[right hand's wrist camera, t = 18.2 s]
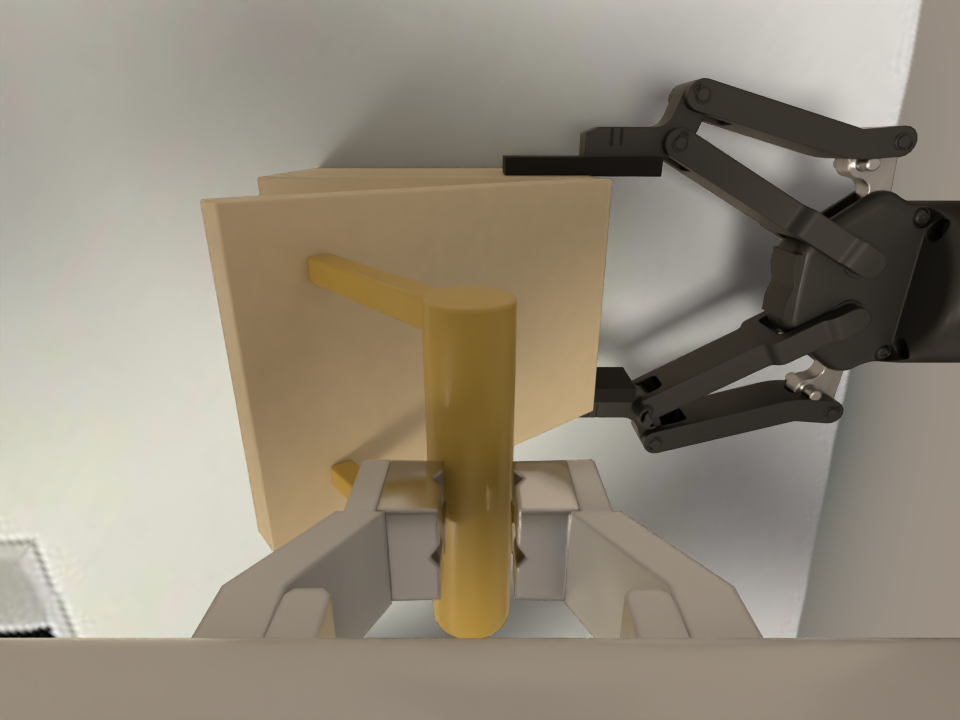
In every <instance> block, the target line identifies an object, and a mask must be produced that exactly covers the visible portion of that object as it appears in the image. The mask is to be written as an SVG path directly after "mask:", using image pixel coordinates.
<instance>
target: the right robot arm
mask: <svg viewBox="0 0 960 720" xmlns="http://www.w3.org/2000/svg"><path fill="white" fill-rule="evenodd" d="M445 486H446V474H445V461H421V460H392V461H391V460H364V461H363V462H362V463H361V465H360V468H359V471H358V473H357V476H356V479H355V481H354V484H353V487H352V489H351V492H350V495H349V497H348V500H347V503H346V505H345V508H344V511H335V512H334V513H332V514H331V515H329V516H327V517H326V518H324V519H323V520H321V521H320V522H318V523H317V524H315V525H314V526H312V527H311V528H309V529H308V530H306V531H305V532H303V533H302V534H300V535H299V536H297V537H296V538H294V539H292V540H291V541H289V542H288V543H286V544H285V545H283V546H282V547H280V548H279V549H277V550H276V551H274V552H273V553H271V554H270V555H268V556H267V557H265V558H264V559H262V560H261V561H259V562H257V563H256V564H254V565H253V566H251V567H250V568H248V569H247V570H245V571H244V572H242V573H241V574H239V575H238V576H236V577H235V578H233V579H232V580H230V581H229V582H227V583H226V584H224V585H222V587H221V588H220V590H219V592H218V594H217V595H216V597H215V599H214V600H213V602H212V604H211V605H210V607H209V609H208V610H207V612H206V614H205V616H204V617H203V619H202V621H201V622H200V624H199V626H198V627H197V629H196V631H195V633H194V634H193V636H192V638H0V720H960V638H763V637H762V635H761V633H760V631H759V630H758V628H757V626H756V624H755V623H754V621H753V619H752V617H751V616H750V614H749V612H748V610H747V609H746V607H745V605H744V603H743V602H742V600H741V598H740V596H739V595H738V593H737V591H736V589H735V588H734V586H732V585H731V584H729V583H728V582H726V581H725V580H723V579H722V578H720V577H719V576H717V575H716V574H714V573H713V572H711V571H710V570H708V569H707V568H705V567H704V566H702V565H701V564H699V563H698V562H696V561H695V560H693V559H692V558H690V557H689V556H687V555H686V554H684V553H683V552H681V551H680V550H678V549H677V548H675V547H674V546H672V545H671V544H669V543H668V542H666V541H665V540H663V539H662V538H660V537H659V536H657V535H656V534H654V533H653V532H651V531H650V530H648V529H647V528H645V527H644V526H642V525H641V524H639V523H638V522H636V521H635V520H633V519H632V518H630V517H629V516H627V515H625V514H624V513H622V512H621V511H613V510H612V508H611V505H610V502H609V500H608V497H607V494H606V491H605V489H604V486H603V483H602V481H601V478H600V475H599V472H598V470H597V467H596V464H595V462H594V461H593V460H592V459H587V460H558V461H518V462H512V467H511V489H512V501H511V502H510V535H511V552H512V554H513V577H514V588H515V599H516V600H551V601H565V604H566V605H567V606H568V608H569V609H570V610H571V611H572V612H573V613H574V615H575V616H576V617H577V618H578V619H579V620H580V622H581V623H582V624H583V625H584V626H585V627H586V629H587V630H588V631H589V632H590V633H591V635H592V636H593V637H594V638H362V637H363V636H364V635H365V634H366V633H367V632H368V630H369V629H370V628H371V627H372V626H373V625H374V623H375V622H376V621H377V620H378V619H379V618H380V616H381V615H382V614H383V613H384V612H385V611H386V610H387V608H388V607H389V606H390V605H391V604H392V603H391V601H405V600H440V599H441V594H442V583H443V572H444V565H443V555H444V554H445V548H446V528H447V507H446V501H445V500H444V497H445Z"/></svg>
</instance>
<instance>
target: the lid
mask: <svg viewBox="0 0 960 720" xmlns="http://www.w3.org/2000/svg"><path fill="white" fill-rule="evenodd" d="M611 190H612V180H611V179H601V178H574V179H556V180H538V181H520V182H502V183H484V184H466V185H448V186H430V187H412V188H394V189H376V190H358V191H340V192H322V193H304V194H286V195H268V196H250V197H232V198H214V199H202V200H201V201H200V204H201V209H202V215H203V221H204V226H205V232H206V238H207V243H208V249H209V255H210V260H211V266H212V271H213V277H214V283H215V288H216V294H217V300H218V305H219V311H220V317H221V322H222V328H223V333H224V339H225V345H226V350H227V356H228V362H229V367H230V373H231V379H232V384H233V390H234V395H235V401H236V407H237V412H238V418H239V424H240V429H241V435H242V441H243V446H244V452H245V457H246V463H247V469H248V474H249V480H250V486H251V491H252V497H253V503H254V508H255V514H256V519H257V525H258V531H259V532H260V534H261V535H262V536H263V538H264V539H265V541H266V542H267V544H268V545H269V546H270V548H271V549H272V551H276V550H277V549H279V548H280V547H282V546H283V545H285V544H286V543H288V542H289V541H291V540H292V539H294V538H296V537H297V536H299V535H300V534H302V533H303V532H305V531H306V530H308V529H309V528H311V527H312V526H314V525H315V524H317V523H318V522H320V521H321V520H323V519H324V518H326V517H327V516H329V515H331V514H332V513H334V512H335V511H344V508H345V505H346V503H347V500H348V497H349V495H350V492H351V489H352V487H353V484H354V481H355V479H356V476H357V473H358V471H359V468H360V465H361V463H362V462H363V461H364V460H391V461H392V460H421V461H445V474H446V486H445V497H444V500H445V501H446V507H447V528H446V548H445V554H444V555H443V565H444V572H443V583H442V594H441V599H440V600H433V613H434V617H435V620H436V621H437V623H438V625H439V626H440V627H441V628H442V629H443V630H444V631H445V632H447V633H448V634H450V635H452V636H454V637H457V638H485V637H488V636H490V635H492V634H493V633H495V632H497V631H498V630H499V629H500V628H501V627H502V626H503V624H504V623H505V621H506V620H507V618H508V614H509V603H510V565H511V535H510V502H511V501H512V489H511V467H512V462H513V450H514V445H516V444H519V443H521V442H523V441H525V440H528V439H530V438H532V437H535V436H537V435H539V434H541V433H544V432H546V431H548V430H550V429H553V428H555V427H557V426H559V425H562V424H564V423H566V422H568V421H571V420H573V419H575V418H577V417H580V416H582V415H584V414H587V413H589V412H591V411H593V405H594V394H595V382H596V370H597V358H598V346H599V334H600V322H601V310H602V298H603V286H604V274H605V262H606V250H607V238H608V226H609V214H610V202H611Z"/></svg>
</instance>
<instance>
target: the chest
mask: <svg viewBox="0 0 960 720" xmlns="http://www.w3.org/2000/svg"><path fill="white" fill-rule="evenodd" d="M574 178H595V177H592V176H505V175H504V174H503V168H315V169H309V170H302V171H296V172H289V173H283V174H276V175H270V176H263V177H259V178H258V186H259V193H260V196H268V195H286V194H304V193H322V192H340V191H358V190H376V189H394V188H412V187H430V186H448V185H466V184H484V183H502V182H520V181H538V180H556V179H574Z"/></svg>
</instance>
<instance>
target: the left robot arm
mask: <svg viewBox="0 0 960 720" xmlns="http://www.w3.org/2000/svg"><path fill="white" fill-rule="evenodd" d="M668 102H669V104H668V107H667V109H666V111H665V113H664V115H663V117H662V119H661V120H660V121H659V122H658V123H657V124H656V125H654V126H652V127H596V128H591V129H589V130H586V131H584V132H581V134H580V150H579V156H503V174H504V175H505V176H645V177H661V172H662V164H663V161H664V162H665V163H667V164H668V165H670V166H671V167H673V168H675V169H676V170H678V171H679V172H681V173H682V174H684V175H686V176H687V177H689V178H690V179H692V180H693V181H695V182H697V183H698V184H700V185H701V186H703V187H704V188H706V189H707V190H709V191H711V192H712V193H714V194H715V195H717V196H718V197H720V198H722V199H723V200H725V201H726V202H728V203H729V204H731V205H732V206H734V207H736V208H737V209H739V210H740V211H742V212H743V213H745V214H747V215H748V216H750V217H751V218H753V219H754V220H756V221H757V222H759V223H760V225H761V226H763V227H764V228H766V229H767V230H769V231H770V232H772V233H774V234H775V235H777V236H778V237H780V238H781V239H783V241H782V242H781V244H780V246H779V247H774V249H773V254H772V259H771V269H772V280H771V282H770V284H769V286H768V288H767V290H766V292H765V295H764V301H763V306H762V309H763V310H765V311H764V312H762V313H760V314H758V315H756V316H754V317H752V318H750V319H747V320H746V321H744V322H743V323H742V324H741V327H740V328H739V329H737V330H735V331H733V332H731V333H729V334H727V335H725V336H723V337H721V338H719V339H717V340H715V341H713V342H711V343H709V344H706V345H704V346H702V347H700V348H698V349H696V350H694V351H692V352H690V353H688V354H686V355H684V356H682V357H680V358H678V359H676V360H673V361H671V362H669V363H667V364H665V365H663V366H661V367H659V368H657V369H655V370H653V371H651V372H649V373H647V374H645V375H643V376H640V377H638V378H636V379H634V380H632V381H631V379H630V377H629V376H628V374H627V373H626V371H625V370H624V368H623V367H597V370H596V382H595V394H594V405H593V411H591V412H589V413H587V414H584V415H582V416H580V417H625V418H629V419H631V420H632V422H631V423H632V426H633V428H634V429H635V431H636V433H637V435H638V437H639V439H640V441H641V442H642V444H643V446H644V448H645V449H646V450H647V451H648V452H650V453H659V452H663V451H668V450H672V449H676V448H680V447H685V446H689V445H693V444H698V443H702V442H706V441H710V440H715V439H719V438H723V437H728V436H732V435H736V434H740V433H745V432H749V431H753V430H758V429H762V428H766V427H770V426H775V425H779V424H783V423H788V422H792V421H803V422H817V423H833V422H835V421H837V420H838V419H839V418H840V417H841V416H842V414H843V406H842V405H841V404H840V403H839V402H837V401H836V400H835V399H834V396H835V393H836V390H837V387H838V385H839V382H840V379H841V376H842V373H843V371H844V370H849V369H852V368H854V367H856V366H858V365H860V364H863V363H866V362H871V361H882V362H902V363H904V362H905V363H906V362H909V363H912V362H914V363H919V362H920V363H924V362H925V363H931V362H932V363H933V362H935V363H940V362H941V363H942V362H944V363H945V362H947V363H959V362H960V201H906V200H904V199H902V198H901V197H900V196H898V195H897V194H895V193H893V192H891V189H892V184H893V179H894V173H895V168H896V163H897V157H901V156H905V155H907V154H908V153H909V152H911V151H912V149H913V148H914V147H915V145H916V142H917V133H916V130H915V129H914V128H912V127H911V126H885V127H863V128H859V127H856V126H853V125H850V124H847V123H844V122H840V121H837V120H834V119H831V118H828V117H825V116H822V115H819V114H816V113H813V112H810V111H807V110H804V109H801V108H798V107H794V106H791V105H788V104H785V103H782V102H779V101H776V100H773V99H770V98H767V97H764V96H761V95H758V94H755V93H752V92H748V91H745V90H742V89H739V88H736V87H733V86H730V85H727V84H724V83H721V82H718V81H715V80H712V79H708V78H702V79H698V80H694V81H691V82H688V83H684V84H681V85H678V86H676V87H675V88H674V89H673V90H672V91H671V93H670V95H669V100H668ZM701 122H705V123H708V124H711V125H714V126H717V127H721V128H724V129H727V130H730V131H733V132H736V133H740V134H743V135H746V136H749V137H752V138H755V139H758V140H762V141H765V142H768V143H771V144H774V145H777V146H781V147H784V148H787V149H790V150H793V151H796V152H800V153H803V154H806V155H810V156H814V157H821V158H835V159H834V162H833V166H834V167H835V168H836V170H837V172H838V174H839V175H841V176H844V177H848V178H850V179H852V180H853V181H854V183H855V186H856V191H854V192H852V193H850V194H849V195H847V196H845V197H844V198H842V199H841V200H839V201H838V202H836V203H835V204H833V205H831V206H830V207H828V208H827V209H825V210H824V211H822V212H818V211H816V210H814V209H812V208H809V207H807V206H805V205H803V204H801V203H800V202H798V201H797V200H795V199H794V198H792V197H791V196H789V195H788V194H786V193H785V192H783V191H782V190H780V189H779V188H777V187H776V186H774V185H773V184H771V183H770V182H768V181H767V180H765V179H764V178H762V177H760V176H759V175H757V174H756V173H754V172H753V171H751V170H750V169H748V168H747V167H745V166H744V165H742V164H741V163H739V162H738V161H736V160H735V159H733V158H732V157H730V156H729V155H727V154H726V153H724V152H723V151H721V150H720V149H718V148H717V147H715V146H713V145H712V144H710V143H709V142H707V141H706V140H704V139H703V138H701V137H700V136H698V135H697V134H696V132H697V130H698V128H699V126H700V124H701ZM779 332H780V333H781V334H777V333H779ZM805 355H809V356H810V357H811V358H812V359H814V363H813V365H812V366H811V367H810V368H809V369H807V370H806V371H803V372H797V373H794V372H790V373H788V374H787V375H786V377H785V380H772V381H765V382H760V383H755V384H751V385H747V386H743V387H739V388H735V389H730V390H726V391H722V392H718V393H714V394H710V393H712V392H714V391H716V390H718V389H720V388H722V387H724V386H727V385H729V384H731V383H733V382H735V381H737V380H739V379H742V378H744V377H746V376H748V375H750V374H752V373H754V372H756V371H759V370H761V369H763V368H765V367H767V366H770V365H784V364H787V363H790V362H792V361H794V360H796V359H798V358H800V357H802V356H805ZM707 394H710V395H707ZM705 395H706V396H705Z"/></svg>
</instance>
